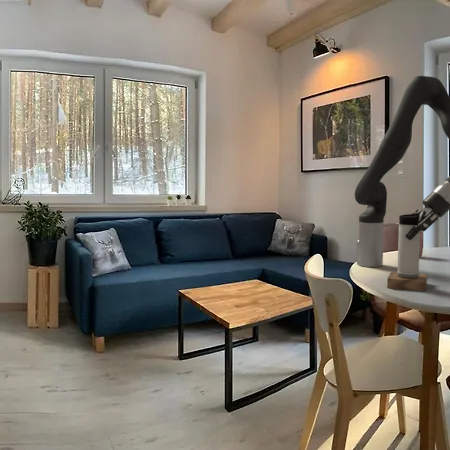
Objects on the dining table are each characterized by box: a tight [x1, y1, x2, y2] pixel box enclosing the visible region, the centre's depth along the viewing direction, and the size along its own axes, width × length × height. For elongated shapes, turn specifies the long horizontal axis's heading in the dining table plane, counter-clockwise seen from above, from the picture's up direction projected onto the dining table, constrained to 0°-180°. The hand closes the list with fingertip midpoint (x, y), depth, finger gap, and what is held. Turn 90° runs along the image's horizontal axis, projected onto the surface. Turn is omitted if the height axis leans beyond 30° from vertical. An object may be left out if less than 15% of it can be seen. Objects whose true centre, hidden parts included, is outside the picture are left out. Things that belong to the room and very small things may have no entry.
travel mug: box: [396, 212, 420, 278], centre depth 145 cm, size 6×7×20 cm
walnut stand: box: [386, 271, 428, 292], centre depth 146 cm, size 11×11×3 cm
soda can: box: [419, 231, 424, 258], centre depth 199 cm, size 7×7×12 cm
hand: (403, 236), depth 145 cm, fingers open, 7 cm apart
